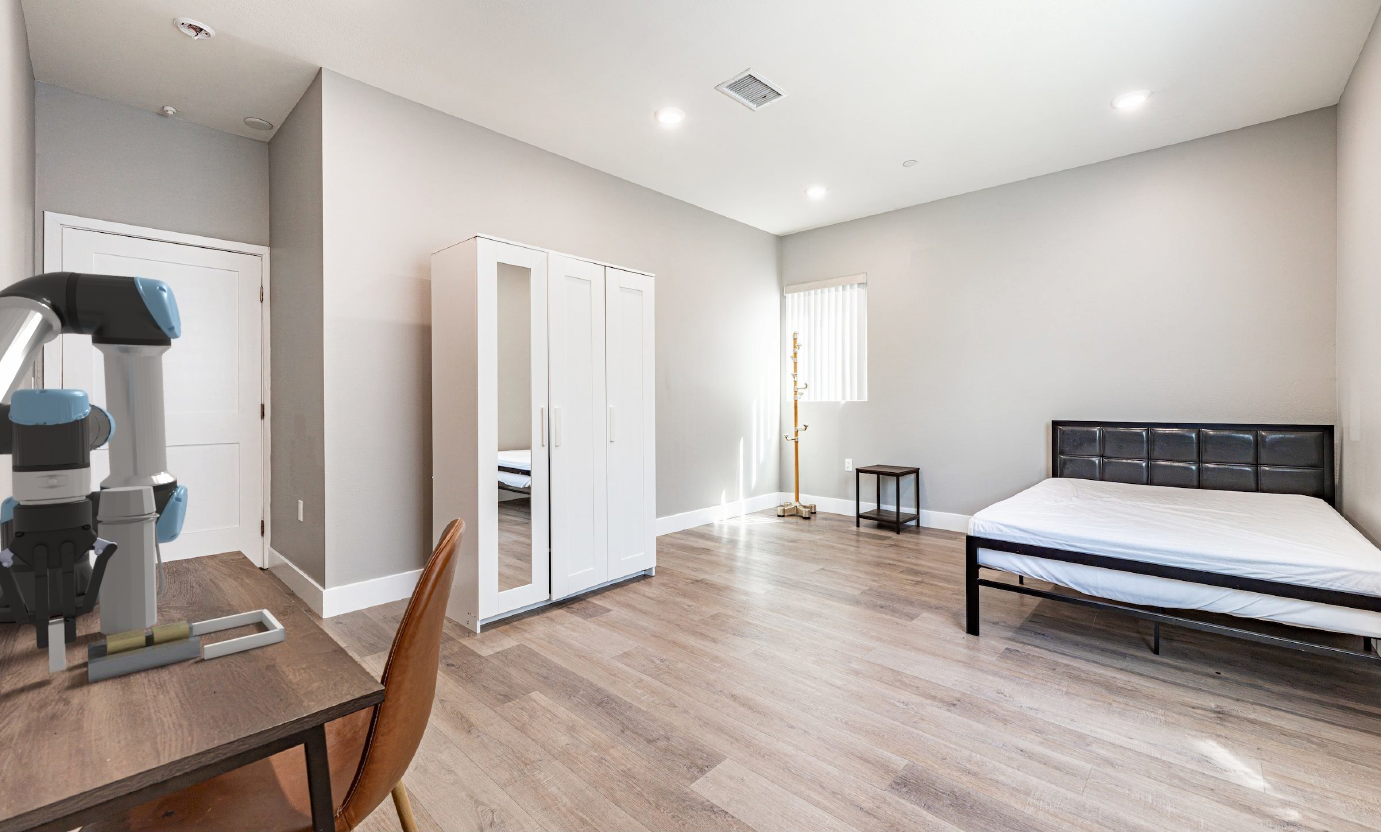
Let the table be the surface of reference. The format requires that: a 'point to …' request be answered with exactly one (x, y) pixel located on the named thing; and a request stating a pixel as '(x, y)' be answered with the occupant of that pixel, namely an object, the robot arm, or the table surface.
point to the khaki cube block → (170, 632)
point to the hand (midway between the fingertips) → (57, 667)
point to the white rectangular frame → (244, 642)
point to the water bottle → (129, 559)
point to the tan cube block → (125, 641)
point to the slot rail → (139, 656)
